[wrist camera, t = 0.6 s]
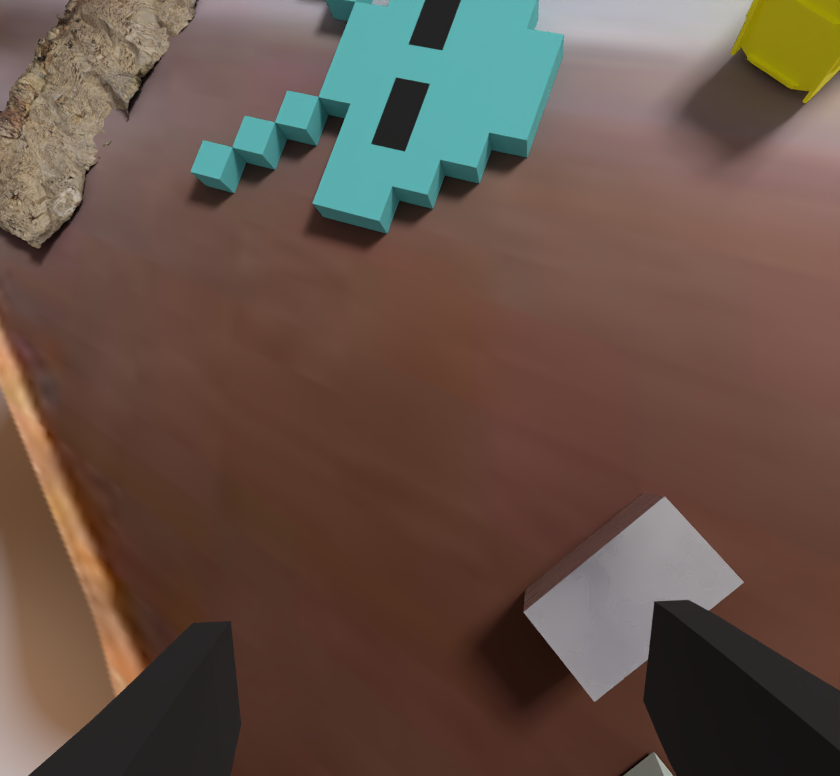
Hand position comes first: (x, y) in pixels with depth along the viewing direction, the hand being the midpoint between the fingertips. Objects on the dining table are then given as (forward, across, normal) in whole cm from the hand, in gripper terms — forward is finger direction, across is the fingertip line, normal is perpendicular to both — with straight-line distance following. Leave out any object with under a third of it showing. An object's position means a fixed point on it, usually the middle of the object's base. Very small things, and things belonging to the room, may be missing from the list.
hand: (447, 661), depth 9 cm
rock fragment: (+40, +19, -22) cm, 49 cm away
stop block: (+17, -11, +10) cm, 22 cm away
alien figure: (+32, 0, -17) cm, 36 cm away
